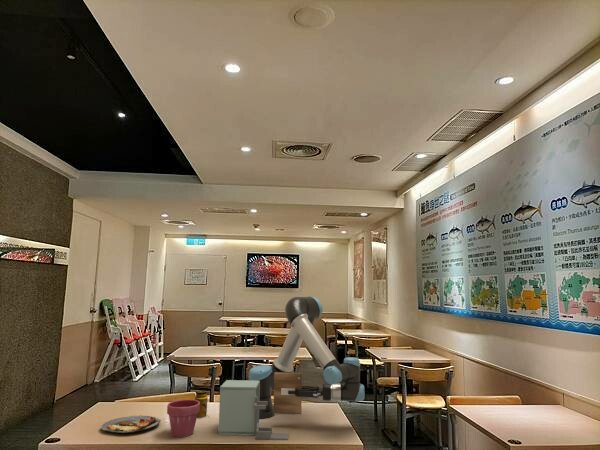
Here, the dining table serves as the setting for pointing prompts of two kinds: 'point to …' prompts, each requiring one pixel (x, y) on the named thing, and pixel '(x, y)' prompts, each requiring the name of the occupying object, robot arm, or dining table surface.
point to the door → (287, 402)
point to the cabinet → (243, 410)
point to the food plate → (130, 424)
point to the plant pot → (183, 416)
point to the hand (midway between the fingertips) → (281, 390)
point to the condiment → (202, 403)
